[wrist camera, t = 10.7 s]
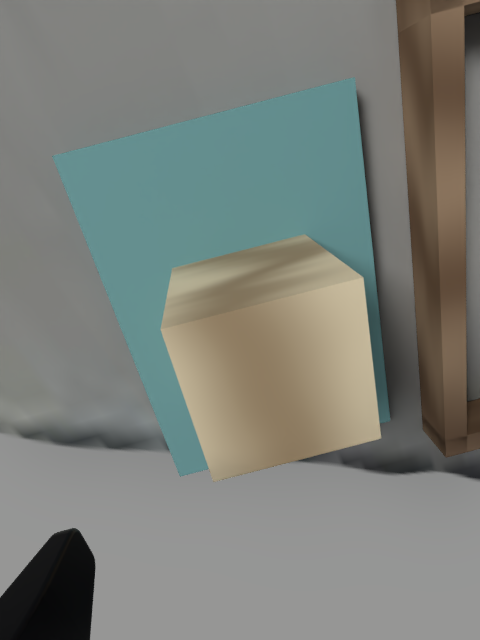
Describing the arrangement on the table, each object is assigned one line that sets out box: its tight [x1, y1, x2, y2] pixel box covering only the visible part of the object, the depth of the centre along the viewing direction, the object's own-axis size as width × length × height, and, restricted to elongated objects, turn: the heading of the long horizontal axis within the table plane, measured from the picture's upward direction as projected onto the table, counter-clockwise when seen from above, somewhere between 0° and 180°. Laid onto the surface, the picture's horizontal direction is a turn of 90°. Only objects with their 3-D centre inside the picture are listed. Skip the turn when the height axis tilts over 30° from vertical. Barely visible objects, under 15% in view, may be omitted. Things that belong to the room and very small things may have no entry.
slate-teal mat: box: [52, 77, 390, 476], centre depth 16 cm, size 14×10×1 cm
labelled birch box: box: [160, 234, 381, 482], centre depth 13 cm, size 5×5×6 cm
